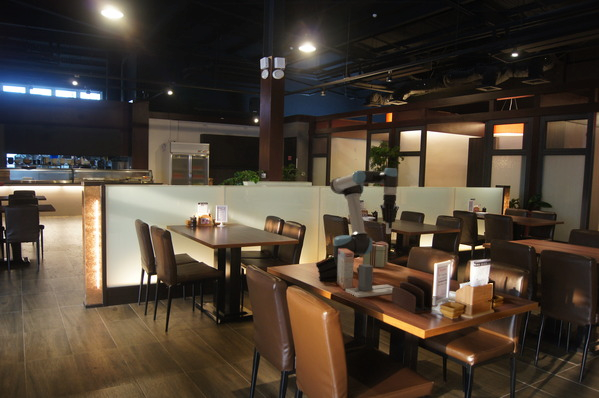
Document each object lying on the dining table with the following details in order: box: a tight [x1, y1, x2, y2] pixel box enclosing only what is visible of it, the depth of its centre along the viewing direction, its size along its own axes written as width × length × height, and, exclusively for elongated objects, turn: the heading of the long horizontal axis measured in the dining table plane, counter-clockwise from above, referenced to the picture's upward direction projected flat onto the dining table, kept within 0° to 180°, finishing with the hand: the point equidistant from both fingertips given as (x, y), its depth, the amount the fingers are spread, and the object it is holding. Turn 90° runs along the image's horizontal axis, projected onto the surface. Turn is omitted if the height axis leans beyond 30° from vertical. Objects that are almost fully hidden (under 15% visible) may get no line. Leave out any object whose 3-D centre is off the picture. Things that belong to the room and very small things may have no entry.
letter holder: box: [391, 275, 433, 315], centre depth 213 cm, size 10×20×14 cm, turn 21°
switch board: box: [345, 283, 394, 298], centre depth 237 cm, size 28×12×2 cm, turn 116°
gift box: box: [362, 240, 389, 268], centre depth 310 cm, size 17×18×17 cm
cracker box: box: [336, 249, 355, 291], centre depth 247 cm, size 14×6×21 cm, turn 9°
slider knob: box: [356, 263, 374, 291], centre depth 235 cm, size 6×6×13 cm
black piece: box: [315, 255, 337, 283], centre depth 259 cm, size 4×13×15 cm, turn 99°
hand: (388, 233), depth 258 cm, fingers closed
